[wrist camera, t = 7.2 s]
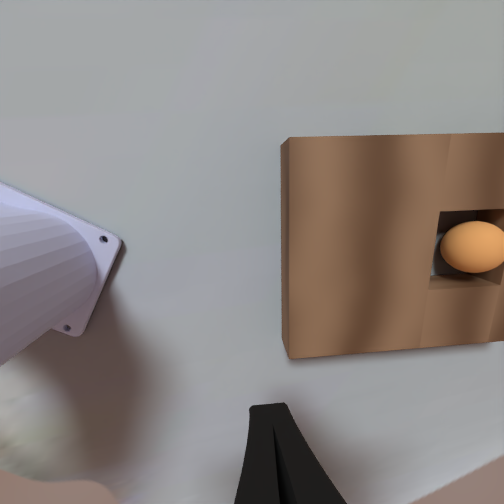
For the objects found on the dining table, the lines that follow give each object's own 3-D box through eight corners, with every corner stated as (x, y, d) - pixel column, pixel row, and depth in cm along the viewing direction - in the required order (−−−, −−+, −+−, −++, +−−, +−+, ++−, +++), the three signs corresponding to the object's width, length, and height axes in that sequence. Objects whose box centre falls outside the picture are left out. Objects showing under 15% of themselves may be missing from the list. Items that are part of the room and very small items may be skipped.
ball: (446, 246, 20) (419, 252, 18) (481, 209, 17) (452, 212, 16) (490, 278, 17) (463, 287, 16) (536, 240, 15) (509, 247, 14)
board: (281, 337, 19) (289, 359, 17) (280, 145, 16) (289, 137, 13) (484, 321, 20) (518, 339, 18) (523, 139, 17) (571, 131, 15)
